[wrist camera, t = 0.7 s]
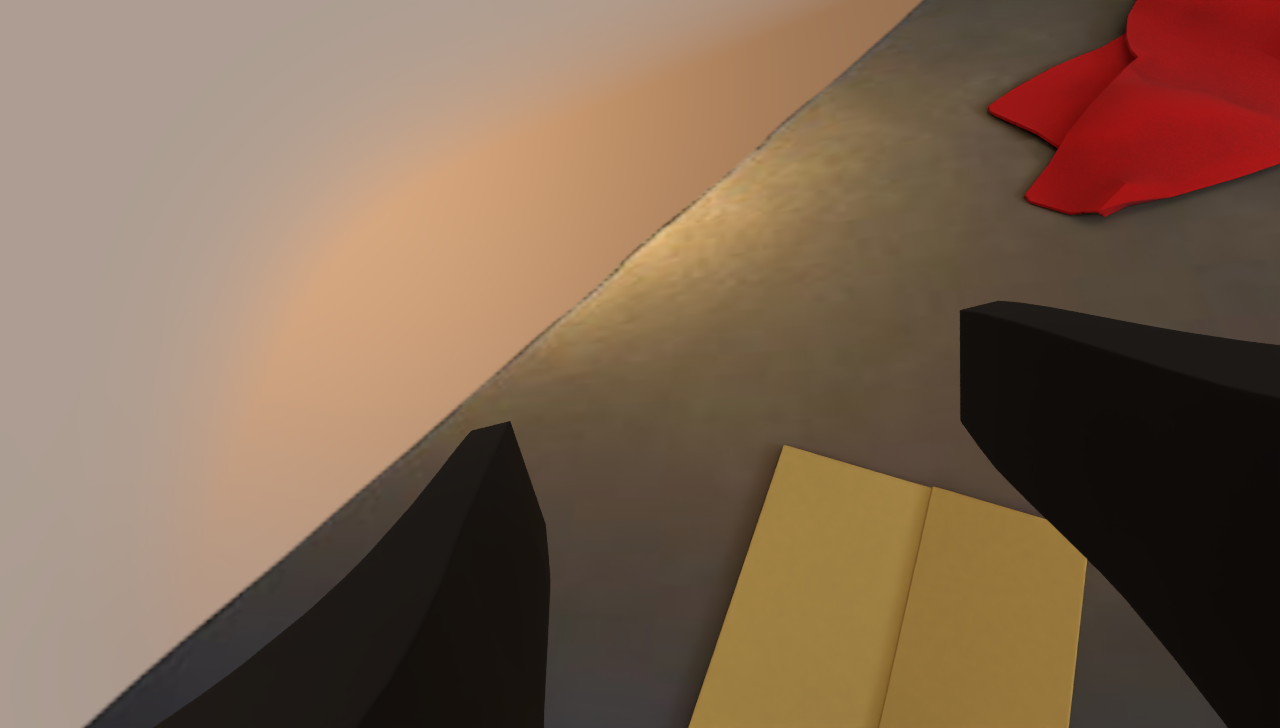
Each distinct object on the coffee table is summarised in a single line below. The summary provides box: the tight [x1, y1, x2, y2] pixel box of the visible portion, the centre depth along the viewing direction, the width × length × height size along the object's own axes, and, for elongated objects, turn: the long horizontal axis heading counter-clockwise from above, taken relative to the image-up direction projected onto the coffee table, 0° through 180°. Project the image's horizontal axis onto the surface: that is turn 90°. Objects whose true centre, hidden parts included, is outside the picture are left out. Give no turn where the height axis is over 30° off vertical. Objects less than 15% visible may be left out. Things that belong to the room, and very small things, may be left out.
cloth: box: [988, 0, 1280, 217], centre depth 34 cm, size 26×14×2 cm, turn 130°
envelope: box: [688, 445, 1087, 728], centre depth 23 cm, size 16×11×1 cm
